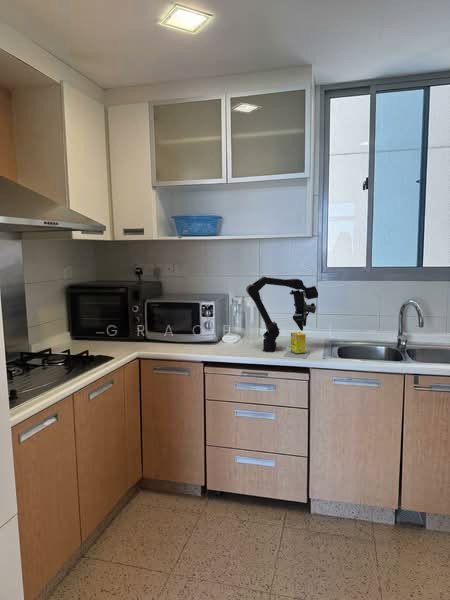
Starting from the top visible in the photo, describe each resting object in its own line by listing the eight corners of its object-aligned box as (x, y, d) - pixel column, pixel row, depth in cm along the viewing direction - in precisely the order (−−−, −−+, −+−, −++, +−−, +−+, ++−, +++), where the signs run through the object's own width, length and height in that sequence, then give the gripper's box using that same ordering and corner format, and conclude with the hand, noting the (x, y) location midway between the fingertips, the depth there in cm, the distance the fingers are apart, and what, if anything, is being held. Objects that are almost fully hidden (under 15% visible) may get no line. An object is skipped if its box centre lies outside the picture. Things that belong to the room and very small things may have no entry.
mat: (283, 356, 216) (283, 356, 216) (287, 351, 227) (287, 350, 227) (306, 358, 211) (306, 358, 211) (309, 352, 223) (309, 352, 222)
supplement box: (290, 352, 224) (290, 332, 222) (299, 351, 226) (300, 331, 224) (295, 354, 218) (296, 334, 217) (305, 353, 220) (305, 333, 219)
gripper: (311, 303, 215) (315, 331, 217) (316, 296, 232) (320, 323, 234) (290, 305, 219) (294, 333, 221) (297, 298, 236) (301, 324, 238)
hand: (303, 328), depth 229 cm, fingers open, 9 cm apart
